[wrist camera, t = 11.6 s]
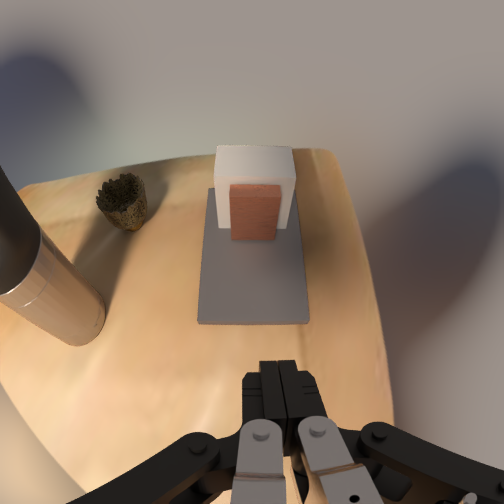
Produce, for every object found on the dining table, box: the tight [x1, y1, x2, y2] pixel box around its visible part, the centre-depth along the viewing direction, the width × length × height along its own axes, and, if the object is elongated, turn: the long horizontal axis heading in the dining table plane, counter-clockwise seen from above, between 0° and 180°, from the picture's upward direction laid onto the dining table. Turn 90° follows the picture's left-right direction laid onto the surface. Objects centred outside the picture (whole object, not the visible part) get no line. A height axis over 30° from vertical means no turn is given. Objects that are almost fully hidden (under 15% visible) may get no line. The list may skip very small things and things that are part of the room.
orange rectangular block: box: [229, 184, 281, 240], centre depth 41 cm, size 6×11×9 cm, turn 1°
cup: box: [96, 173, 147, 232], centre depth 42 cm, size 8×7×8 cm
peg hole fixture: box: [197, 145, 309, 325], centre depth 38 cm, size 14×22×12 cm, turn 1°
